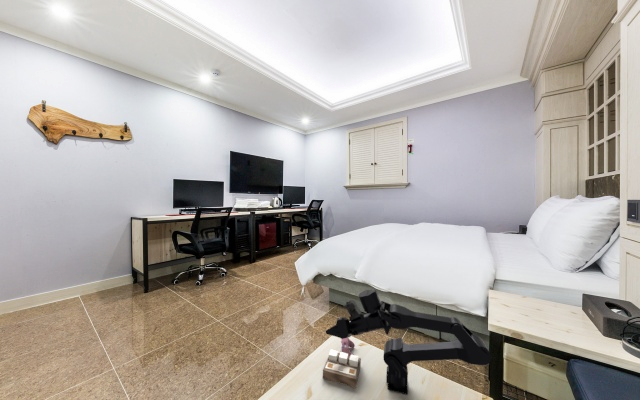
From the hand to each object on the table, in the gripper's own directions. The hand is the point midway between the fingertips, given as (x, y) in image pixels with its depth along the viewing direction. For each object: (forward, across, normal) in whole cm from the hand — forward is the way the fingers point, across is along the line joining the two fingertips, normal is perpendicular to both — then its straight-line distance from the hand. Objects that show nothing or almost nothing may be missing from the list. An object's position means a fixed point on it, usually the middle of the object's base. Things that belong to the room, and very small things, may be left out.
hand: (331, 331), depth 87 cm
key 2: (-3, -7, +12) cm, 14 cm away
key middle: (0, -6, +11) cm, 12 cm away
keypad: (+1, -5, +13) cm, 14 cm away
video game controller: (+1, -14, +9) cm, 17 cm away
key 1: (+4, -5, +9) cm, 11 cm away
